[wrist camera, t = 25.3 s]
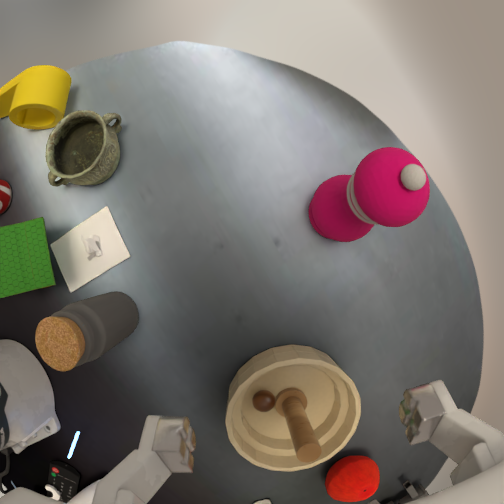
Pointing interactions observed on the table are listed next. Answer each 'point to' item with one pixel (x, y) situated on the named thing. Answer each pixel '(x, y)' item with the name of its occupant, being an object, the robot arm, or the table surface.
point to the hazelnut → (263, 400)
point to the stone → (263, 502)
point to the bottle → (85, 330)
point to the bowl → (275, 426)
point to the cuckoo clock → (24, 258)
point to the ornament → (55, 493)
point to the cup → (85, 495)
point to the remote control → (63, 480)
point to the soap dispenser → (412, 495)
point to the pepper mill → (371, 196)
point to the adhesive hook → (89, 249)
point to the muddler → (298, 424)
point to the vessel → (83, 149)
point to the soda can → (5, 196)
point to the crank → (36, 97)
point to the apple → (352, 479)
